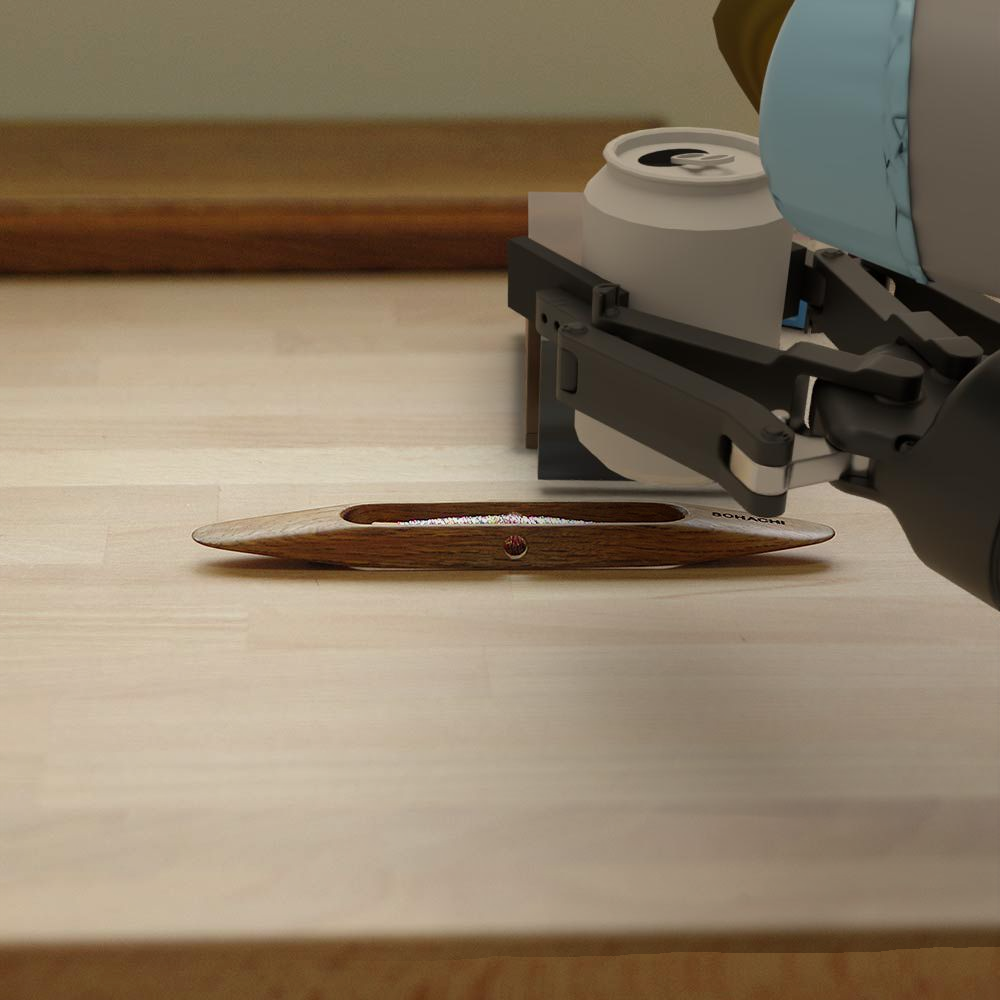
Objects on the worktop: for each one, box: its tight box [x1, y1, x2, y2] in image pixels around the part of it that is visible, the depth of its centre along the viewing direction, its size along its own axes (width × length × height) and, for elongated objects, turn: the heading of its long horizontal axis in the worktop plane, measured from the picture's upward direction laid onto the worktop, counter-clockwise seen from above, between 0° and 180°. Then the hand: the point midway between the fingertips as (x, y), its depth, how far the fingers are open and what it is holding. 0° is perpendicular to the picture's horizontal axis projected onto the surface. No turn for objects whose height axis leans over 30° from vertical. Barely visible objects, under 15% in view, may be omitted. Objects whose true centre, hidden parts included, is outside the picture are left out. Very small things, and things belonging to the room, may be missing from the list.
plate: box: [711, 0, 795, 116], centre depth 100 cm, size 22×22×2 cm
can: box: [575, 126, 794, 488], centre depth 49 cm, size 8×8×12 cm
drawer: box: [536, 335, 781, 484], centre depth 70 cm, size 18×12×8 cm, turn 179°
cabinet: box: [524, 191, 584, 449], centre depth 77 cm, size 15×13×10 cm
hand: (603, 251), depth 52 cm, fingers closed on can, 7 cm apart
